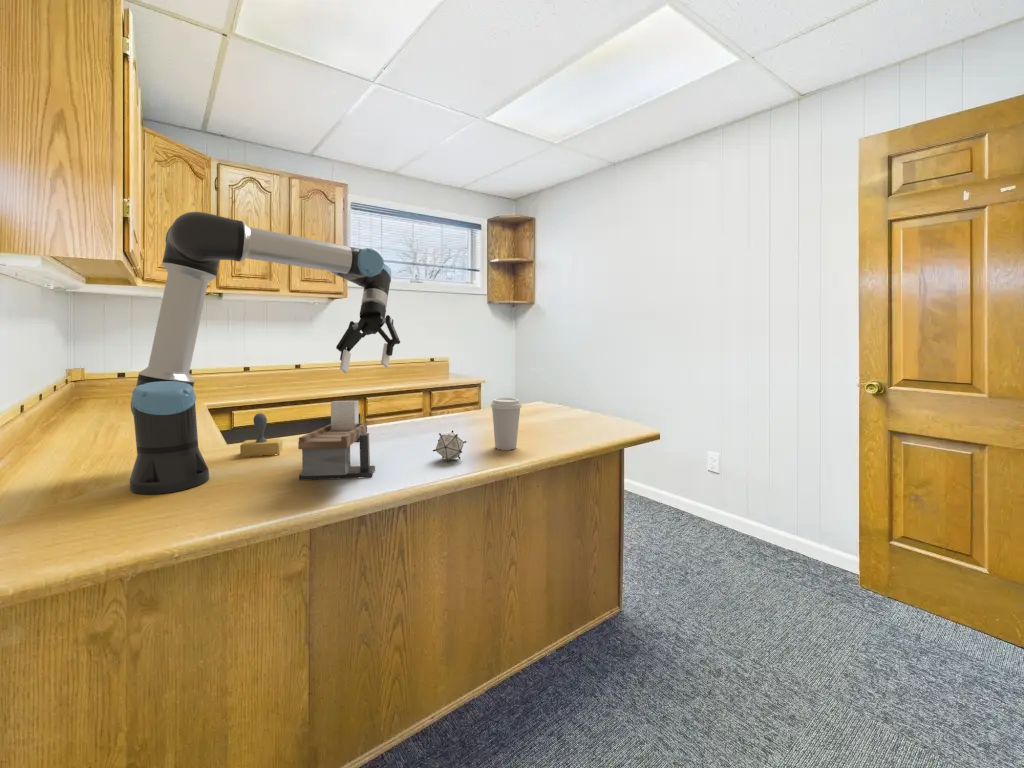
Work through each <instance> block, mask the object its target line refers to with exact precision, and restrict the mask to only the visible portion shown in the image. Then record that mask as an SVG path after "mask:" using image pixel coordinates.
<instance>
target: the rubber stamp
mask: <svg viewBox="0 0 1024 768" xmlns="http://www.w3.org/2000/svg"><path fill="white" fill-rule="evenodd" d="M267 424H268V418H267V416H266V414H264V413H262V412H259V413H256V414H255V415H254V416H253V425H254V427H255V429H256V431H257V434H258V438H257V439H246V440H244V441H243V442H242V443H241V444H240V445H239V447H240V448H239V449H240V451H239V452H240V458H249V457H248V456H255V457H263V456H262V455H272V456H276V455H275V454H280V452H281V451H282V450H284V449H283V439H282V438H267V439H266V438H265V436H264V433H265V430H266V427H267ZM282 452H283V451H282ZM282 452H281V453H282ZM280 455H281V454H280Z"/></svg>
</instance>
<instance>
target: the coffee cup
mask: <svg viewBox="0 0 1024 768" xmlns="http://www.w3.org/2000/svg"><path fill="white" fill-rule="evenodd" d="M521 403H522V402H520V399H519V398H513V397H496V398H494V399H492V402H491V403H490V408H491V410H492V422H493V433H494V447H495V449H496V448H497V449H496V450H499V449H501V450H500V451H512V450H511V449H513V450H516V449H517V444H518V443H517V442H518V433H519V424H520V423H519V422H520V421H519V420H520V413H521V408H522V407H523V406H522V404H521ZM515 448H516V449H515Z"/></svg>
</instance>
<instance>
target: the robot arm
mask: <svg viewBox="0 0 1024 768" xmlns="http://www.w3.org/2000/svg"><path fill="white" fill-rule="evenodd" d="M245 259H248V260H256V261H261V262H262V261H263V262H268V263H276V264H280V265H287V266H295V267H302V268H307V269H312V270H322V271H326V272H327V271H328V272H330V273H332V274H334V275H335V276H337V277H340V278H341V279H344V280H346V281H349V282H351V283H352V284H355V285H357V286H359V287H362V288H363V292H362V299H361V306H360V310H359V321H357V322H354V321H352V320H351V321H350V322H349V325H348V327H347V329H346V330H345V332H344V333H343V336H342V337H341V338H340V340H339V341H338V344H337V345H336V347H335V348H336V350H338V352H340V358H339V360H340V368H339V370H341V371H342V372H343V373H345V374H347V373H348V372H349V366H350V361H351V355H352V352H350V351H351V350H352V349H354V347H355V346H356V345H357V344H358V343H359V342H360V340H362V339H363V338H365V336H370V335H376V334H377V333H378V334H379V335H380V336H381V337H382V339H384V341H385V342H386V343H383V348H382V355H381V361H380V363H381V365H382V366H384V367H385V368H389V364H390V357H392V355H393V351H394V347H395V345H399V344H401V340H400V338H399V335H398V333H397V331H396V328H395V325H394V319H393V318H392V317H391V316H390V315H389V314H387V315H386V312H387V305H388V299H389V291H390V287H391V286H390V285H391V282H392V269H391V267H390V265H388V263H385V262H384V256H383V255H382V254H381V252H380V251H379V250H377V249H375V248H371V247H369V248H368V247H364V248H359V247H353V246H349V245H342V244H338V243H334V242H327V241H322V240H318V239H314V238H308V237H301V236H296V235H291V234H286V233H281V232H276V231H272V230H266V229H261V228H256V227H252V226H251V227H250V226H248V225H247V224H246V222H245V221H244V220H243V221H242V220H238V219H232V218H229V217H225V216H221V215H216V214H212V213H208V212H202V211H189V212H186V213H183V214H181V215H180V216H177V218H175V220H174V221H173V223H172V225H170V227H169V228H168V229H167V231H166V234H165V248H164V252H163V259H162V261H161V262H162V263H161V265H162V266H163V268H164V269H165V271H166V272H167V275H166V279H165V280H166V281H165V285H164V289H163V295H162V299H161V303H160V309H159V313H158V318H157V321H156V323H157V324H156V327H155V332H154V336H153V337H154V338H153V342H152V347H151V352H150V355H149V356H150V357H149V359H148V361H149V362H148V364H147V365H148V366H147V367H145V368H144V369H143V370H141V371H139V372H138V375H137V376H138V377H137V381H136V385H135V387H134V388H133V390H132V391H131V392H132V393H131V398H130V409H131V410H130V411H131V413H132V415H133V423H134V434H135V446H136V458H135V461H134V464H133V468H132V471H131V474H130V478H129V491H130V492H132V493H134V494H140V495H154V494H155V495H159V494H167V493H173V492H179V491H183V490H188V489H192V488H195V487H197V486H200V485H203V484H204V483H206V482H207V481H209V479H210V471H209V467H208V465H207V463H206V460H205V458H204V457H203V454H202V452H201V451H200V448H199V438H198V437H199V436H198V426H197V412H196V411H197V410H196V401H197V398H196V397H197V396H196V393H195V389H194V386H195V385H194V384H195V379H194V378H193V377H192V375H191V373H190V371H191V365H192V360H193V356H194V351H195V347H196V342H197V337H198V332H199V327H200V322H201V318H202V313H203V309H204V303H205V299H206V295H207V288H208V284H209V283H210V282H211V281H213V280H215V279H217V275H218V271H219V265H220V261H234V262H242V261H244V260H245ZM384 325H386V328H387V329H388V332H389V334H390V337H391V338H390V337H389V336H388V334H386V332H385V331H384V329H382V327H383V326H384Z"/></svg>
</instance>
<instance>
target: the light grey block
mask: <svg viewBox="0 0 1024 768" xmlns="http://www.w3.org/2000/svg"><path fill="white" fill-rule="evenodd" d="M359 410H360V409H359V400H334V401H331V402H330V424H331V431H342V430H353V429H355V428H356V427H358V426H359V423H360V422H359V419H360V418H359V417H360V416H359V415H360V414H359Z"/></svg>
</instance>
